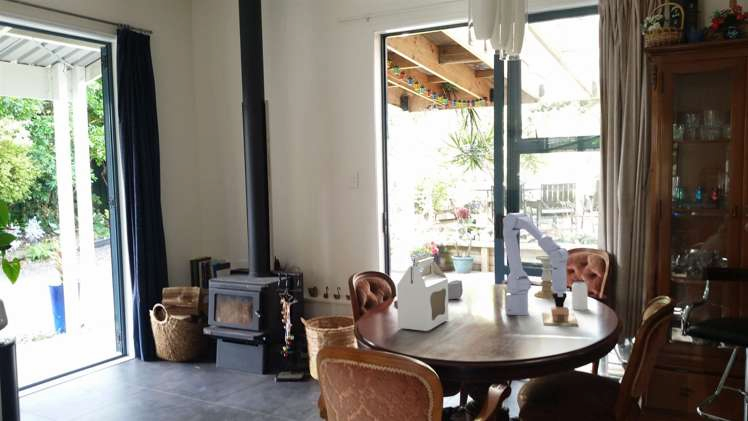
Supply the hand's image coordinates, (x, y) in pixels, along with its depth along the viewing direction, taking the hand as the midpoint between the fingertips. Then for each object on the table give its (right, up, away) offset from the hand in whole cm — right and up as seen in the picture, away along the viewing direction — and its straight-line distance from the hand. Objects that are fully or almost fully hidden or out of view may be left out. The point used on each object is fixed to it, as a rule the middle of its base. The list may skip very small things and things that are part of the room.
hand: (559, 311), depth 229 cm
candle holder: (+10, -2, +49) cm, 50 cm away
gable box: (-55, -6, +1) cm, 56 cm away
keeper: (-1, -3, -4) cm, 5 cm away
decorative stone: (-35, -3, +49) cm, 60 cm away
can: (+16, -3, +21) cm, 26 cm away
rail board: (0, -4, +1) cm, 4 cm away
